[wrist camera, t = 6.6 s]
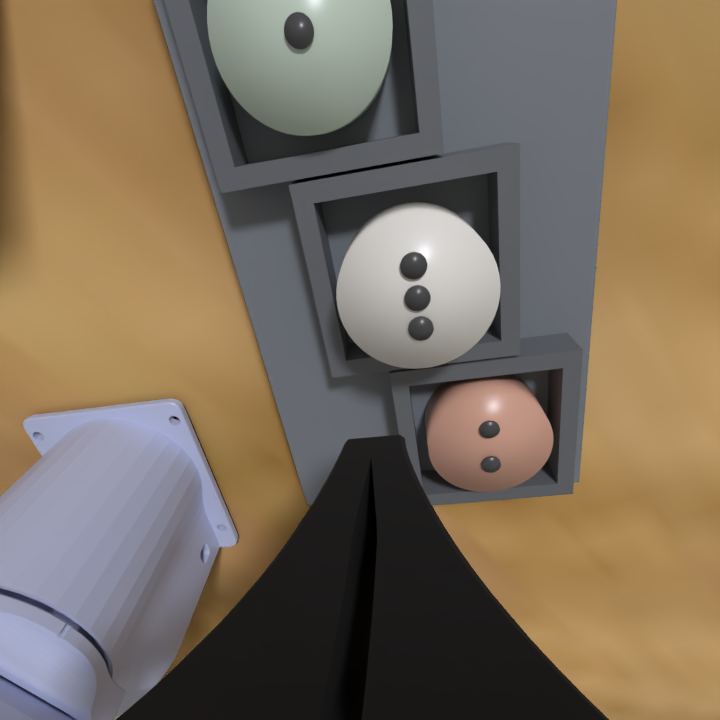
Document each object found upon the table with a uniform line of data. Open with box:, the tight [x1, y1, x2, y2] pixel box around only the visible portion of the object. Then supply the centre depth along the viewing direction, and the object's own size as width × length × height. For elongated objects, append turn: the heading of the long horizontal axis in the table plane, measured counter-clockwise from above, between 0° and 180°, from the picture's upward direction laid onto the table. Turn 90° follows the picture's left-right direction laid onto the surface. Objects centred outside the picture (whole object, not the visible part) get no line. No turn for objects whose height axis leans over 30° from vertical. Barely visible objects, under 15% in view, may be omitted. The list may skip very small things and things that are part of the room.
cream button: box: [336, 202, 501, 369], centre depth 13 cm, size 4×4×2 cm
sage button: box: [207, 0, 393, 136], centre depth 11 cm, size 4×4×2 cm
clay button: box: [424, 374, 553, 492], centre depth 17 cm, size 4×4×2 cm
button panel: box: [154, 0, 617, 505], centre depth 15 cm, size 21×12×3 cm, turn 10°
